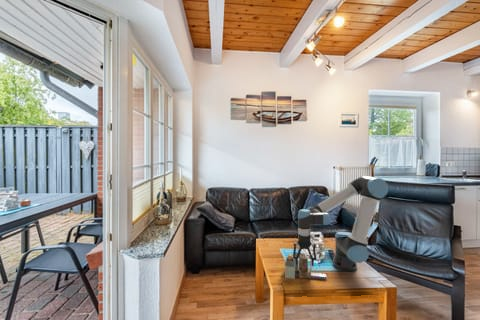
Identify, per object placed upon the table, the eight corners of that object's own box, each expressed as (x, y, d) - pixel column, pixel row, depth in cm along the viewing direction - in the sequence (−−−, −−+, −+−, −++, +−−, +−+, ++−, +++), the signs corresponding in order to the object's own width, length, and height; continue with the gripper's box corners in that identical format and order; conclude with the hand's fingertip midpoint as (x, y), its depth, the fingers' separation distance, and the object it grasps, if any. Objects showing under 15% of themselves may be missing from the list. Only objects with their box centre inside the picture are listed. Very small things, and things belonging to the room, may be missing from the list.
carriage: (310, 273, 147) (309, 255, 147) (310, 278, 141) (310, 260, 141) (298, 272, 149) (298, 254, 148) (299, 277, 143) (299, 259, 142)
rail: (325, 276, 144) (325, 274, 144) (326, 279, 140) (326, 277, 140) (294, 273, 148) (294, 270, 148) (294, 276, 144) (294, 273, 144)
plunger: (292, 259, 148) (292, 254, 148) (292, 261, 145) (292, 256, 145) (287, 258, 148) (287, 254, 148) (287, 260, 146) (287, 256, 146)
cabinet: (294, 271, 151) (294, 256, 150) (294, 278, 142) (294, 263, 142) (285, 270, 152) (285, 255, 152) (285, 277, 143) (285, 262, 143)
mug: (306, 273, 148) (306, 258, 148) (286, 271, 150) (286, 256, 150) (305, 267, 156) (305, 252, 156) (286, 265, 159) (286, 251, 158)
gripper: (320, 233, 146) (320, 268, 146) (288, 231, 150) (288, 265, 151) (321, 237, 138) (321, 274, 139) (288, 235, 143) (288, 271, 143)
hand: (304, 269), depth 145 cm, fingers closed on carriage, 7 cm apart
